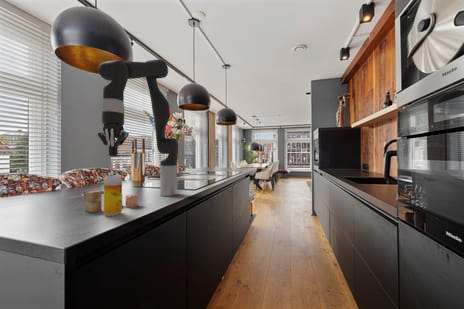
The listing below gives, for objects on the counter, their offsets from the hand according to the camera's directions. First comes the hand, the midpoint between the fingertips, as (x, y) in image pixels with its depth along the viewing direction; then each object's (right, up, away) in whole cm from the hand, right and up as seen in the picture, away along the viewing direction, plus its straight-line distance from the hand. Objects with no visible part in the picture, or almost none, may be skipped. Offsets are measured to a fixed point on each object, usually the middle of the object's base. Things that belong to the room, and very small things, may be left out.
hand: (113, 156), depth 80 cm
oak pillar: (-11, -23, +5) cm, 26 cm away
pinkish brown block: (+1, -23, +12) cm, 26 cm away
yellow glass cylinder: (0, -23, 0) cm, 23 cm away
